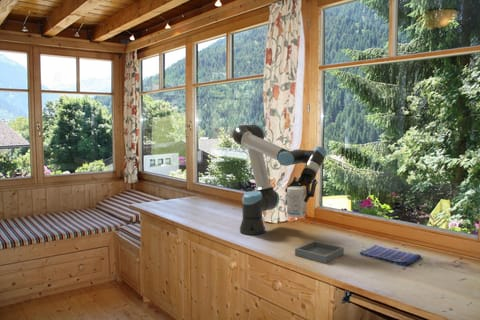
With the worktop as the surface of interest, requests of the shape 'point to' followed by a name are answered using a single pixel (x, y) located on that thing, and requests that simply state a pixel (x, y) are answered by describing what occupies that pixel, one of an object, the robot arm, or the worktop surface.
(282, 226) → the worktop surface
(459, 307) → the worktop surface
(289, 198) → the supplement tub
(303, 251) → the tray
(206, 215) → the worktop surface
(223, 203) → the worktop surface
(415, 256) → the dish towel
